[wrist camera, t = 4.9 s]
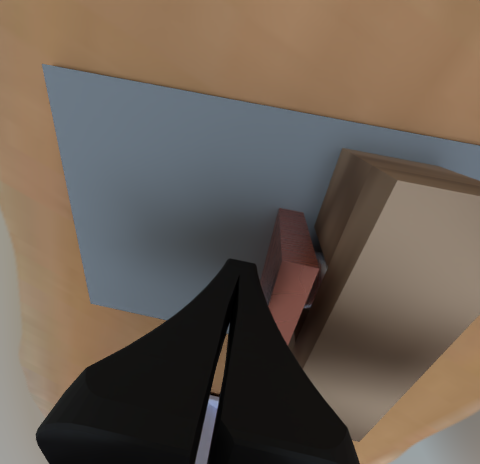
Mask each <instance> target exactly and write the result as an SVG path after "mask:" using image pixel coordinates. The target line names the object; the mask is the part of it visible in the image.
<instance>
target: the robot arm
mask: <svg viewBox="0 0 480 464" xmlns="http://www.w3.org/2000/svg"><path fill="white" fill-rule="evenodd" d="M229 323H230V325H229ZM228 326H229V334H228V344H227V353H226V363H225V370H224V376H223V382H222V387H221V392H220V397H217V396H212V395H210V392H211V388H212V383H213V378H214V374H215V370H216V366H217V362H218V359H219V356H220V353H221V349H222V346H223V343H224V340H225V336H226V333H227V330H228ZM36 440H37V443H38V446H39V448H40V449H41V451H42V453H43V454H44V456H45V458H46V459H47V461H48V462H49V464H360V463H359V460H358V457H357V454H356V451H355V448H354V445H353V442H352V439H351V436H350V433H349V430H348V428H347V426H346V425H345V424H344V423H343V421H342V420H341V419H340V418H339V417H338V415H337V414H336V413H335V412H334V410H333V409H332V408H331V407H330V405H329V404H328V403H327V402H326V401H325V399H324V398H323V397H322V395H321V394H320V393H319V391H318V390H317V389H316V387H315V386H314V385H313V383H312V382H311V380H310V379H309V378H308V376H307V375H306V373H305V372H304V370H303V369H302V367H301V366H300V364H299V363H298V361H297V359H296V358H295V356H294V355H293V353H292V352H291V350H290V348H289V347H288V345H287V343H286V341H285V340H284V338H283V336H282V334H281V332H280V330H279V329H278V327H277V325H276V323H275V320H274V318H273V316H272V314H271V311H270V309H269V307H268V304H267V302H266V299H265V296H264V293H263V290H262V287H261V284H260V280H259V276H258V271H257V266H256V264H255V263H250V262H245V261H240V260H236V259H231V258H229V259H228V260H227V261H226V263H225V264H224V266H223V267H222V268H221V270H220V271H219V272H218V274H217V275H216V276H215V277H214V278H213V279H212V281H211V282H210V283H209V284H208V285H207V286H206V287H205V288H204V289H203V290H202V291H201V292H200V293H199V294H198V295H197V296H196V297H195V298H194V299H193V300H192V301H191V302H190V303H188V304H187V305H186V306H185V307H184V308H182V309H181V310H180V311H179V312H178V313H176V314H175V315H174V316H172V317H171V318H170V319H168V320H167V321H166V322H164V323H163V324H161V325H160V326H158V327H157V328H156V329H154V330H153V331H151V332H149V333H148V334H146V335H144V336H143V337H141V338H140V339H138V340H136V341H135V342H133V343H132V344H130V345H128V346H126V347H125V348H123V349H121V350H119V351H117V352H115V353H114V354H112V355H110V356H108V357H106V358H104V359H102V360H100V361H98V362H97V363H95V364H93V365H91V366H89V367H87V368H86V369H85V370H84V371H83V372H82V373H81V374H80V375H79V377H78V378H77V379H76V380H75V381H74V382H73V383H72V384H71V386H70V387H69V388H68V389H67V390H66V391H65V393H64V394H63V395H62V397H61V398H60V399H59V401H58V402H57V403H56V405H55V406H54V407H53V409H52V410H51V412H50V413H49V414H48V416H47V417H46V418H45V420H44V421H43V423H42V424H41V425H40V427H39V428H38V430H37V433H36Z"/></svg>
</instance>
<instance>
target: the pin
mask: <svg viewBox="0 0 480 464" xmlns="http://www.w3.org/2000/svg"><path fill="white" fill-rule="evenodd" d="M327 268H328V267H327V264H326V261H325V258H324V255H323V253H321V252H316V251H314V248H313V244H312V241H311V237H310V234H309V230H308V227H307V223H306V220H305V216H304V213H302V212H297V211H292V210H287V209H282V208H279V211H278V214H277V218H276V222H275V226H274V230H273V233H272V237H271V241H270V245H269V249H268V253H267V256H266V260H265V264H264V268H263V272H262V275H261V279H260V284H261V287H262V290H263V293H264V296H265V299H266V302H267V304H268V307H269V309H270V311H271V314H272V316H273V318H274V320H275V323H276V325H277V327H278V329H279V330H280V332H281V334H282V336H283V338H284V340H285V341H286V343H287V345H288V344H289V342H290V339H291V337H292V334H293V332H294V329H295V327H296V325H297V322H298V320H299V317H300V315H301V312H302V310H303V308H304V309H309V310H310V308H311V305H312V303H313V301H314V298H315V296H316V294H317V291H318V289H319V287H320V285H321V282H322V280H323V278H324V275H325V273H326V271H327Z"/></svg>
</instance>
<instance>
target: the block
mask: <svg viewBox="0 0 480 464" xmlns="http://www.w3.org/2000/svg"><path fill="white" fill-rule="evenodd" d="M314 228H315V231H316V234H317V237H318V240H319V243H320V246H321V249H322V252H323V255H324V258H325V261H326V264H327V267H328V268H327V271H326V273H325V275H324V278H323V280H322V282H321V285H320V287H319V289H318V291H317V294H316V296H315V298H314V301H313V303H312V305H311V308H310V310H309V309H304V308H303V310H302V312H301V315H300V317H299V320H298V322H297V325H296V327H295V329H294V332H293V334H292V337H291V339H290V342H289V344H288V347H289V348H290V350H291V352H292V353H293V355H294V356H295V358H296V359H297V361H298V363H299V364H300V366H301V367H302V369H303V370H304V372H305V373H306V375H307V376H308V378H309V379H310V380H311V382H312V383H313V385H314V386H315V387H316V389H317V390H318V391H319V393H320V394H321V395H322V397H323V398H324V399H325V401H326V402H327V403H328V404H329V405H330V407H331V408H332V409H333V410H334V412H335V413H336V414H337V415H338V417H339V418H340V419H341V420H342V421H343V423H344V424H345V425H346V426H347V428H348V430H349V433H350V436H351V439H352V440H353V441H358V442H359V441H360V440H361V439H362V438H363V437H364V436H365V435H366V434H367V433H368V432H369V431H370V430H371V429H372V428H373V427H374V426H375V425H376V424H377V422H378V421H379V420H380V419H381V418H382V417H383V416H384V415H385V414H386V413H387V412H388V411H389V410H390V409H391V408H392V407H393V406H394V404H395V403H396V402H397V401H398V400H399V399H400V398H401V397H402V396H403V395H404V394H405V393H406V392H407V391H408V390H409V389H410V388H411V387H412V385H413V384H414V383H415V382H416V381H417V380H418V379H419V378H420V377H421V376H422V375H423V374H424V373H425V372H426V371H427V370H428V369H429V367H430V366H431V365H432V364H433V363H434V362H435V361H436V360H437V359H438V358H439V357H440V356H441V355H442V354H443V353H444V352H445V351H446V350H447V348H448V347H449V346H450V345H451V344H452V343H453V342H454V341H455V340H456V339H457V338H458V337H459V336H460V335H461V334H462V333H463V332H464V330H465V329H466V328H467V327H468V326H469V325H470V324H471V323H472V322H473V321H474V320H475V319H476V318H477V317H478V316H479V315H480V181H479V180H476V179H473V178H470V177H468V176H465V175H462V174H459V173H456V172H454V171H451V170H448V169H445V168H442V167H440V166H435V165H430V164H425V163H420V162H414V161H409V160H404V159H399V158H394V157H388V156H383V155H378V154H373V153H367V152H362V151H357V150H352V149H346V148H342V150H341V153H340V156H339V158H338V161H337V164H336V167H335V170H334V172H333V175H332V178H331V181H330V184H329V186H328V189H327V192H326V195H325V197H324V200H323V203H322V206H321V209H320V211H319V214H318V217H317V220H316V222H315V225H314Z"/></svg>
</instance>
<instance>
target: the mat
mask: <svg viewBox="0 0 480 464" xmlns="http://www.w3.org/2000/svg"><path fill="white" fill-rule="evenodd" d="M42 67H43V72H44V77H45V82H46V87H47V91H48V96H49V101H50V106H51V111H52V116H53V121H54V126H55V131H56V135H57V140H58V145H59V150H60V155H61V160H62V165H63V170H64V175H65V180H66V184H67V189H68V194H69V199H70V204H71V209H72V214H73V219H74V224H75V228H76V233H77V238H78V243H79V248H80V253H81V258H82V263H83V268H84V273H85V277H86V282H87V287H88V292H89V297H90V302H91V304H96V305H100V306H105V307H109V308H114V309H118V310H123V311H127V312H132V313H136V314H141V315H145V316H150V317H154V318H159V319H163V320H168V319H170V318H171V317H172V316H174V315H175V314H176V313H178V312H179V311H180V310H181V309H182V308H184V307H185V306H186V305H187V304H188V303H190V302H191V301H192V300H193V299H194V298H195V297H196V296H197V295H198V294H199V293H200V292H201V291H202V290H203V289H204V288H205V287H206V286H207V285H208V284H209V283H210V282H211V281H212V279H213V278H214V277H215V276H216V275H217V274H218V272H219V271H220V270H221V268H222V267H223V266H224V264H225V263H226V261H227V260H228V259H229V258H231V259H236V260H240V261H245V262H250V263H255V264H256V266H257V271H258V276H259V280H260V279H261V275H262V272H263V268H264V264H265V260H266V256H267V253H268V249H269V245H270V241H271V237H272V233H273V230H274V226H275V222H276V218H277V214H278V211H279V208H282V209H287V210H292V211H297V212H302V213H304V216H305V220H306V223H307V227H308V230H309V234H310V237H311V241H312V244H313V248H314V251H316V252H321V253H323V252H322V249H321V246H320V243H319V240H318V237H317V234H316V231H315V228H314V225H315V222H316V220H317V217H318V214H319V211H320V209H321V206H322V203H323V200H324V197H325V195H326V192H327V189H328V186H329V184H330V181H331V178H332V175H333V172H334V170H335V167H336V164H337V161H338V158H339V156H340V153H341V150H342V148H346V149H352V150H357V151H362V152H367V153H373V154H378V155H383V156H388V157H394V158H399V159H404V160H409V161H414V162H420V163H425V164H430V165H435V166H440V167H442V168H445V169H448V170H451V171H454V172H456V173H459V174H462V175H465V176H468V177H470V178H473V179H476V180H479V181H480V146H478V145H473V144H468V143H462V142H457V141H452V140H446V139H441V138H436V137H430V136H425V135H420V134H414V133H409V132H404V131H398V130H393V129H388V128H382V127H377V126H372V125H366V124H361V123H355V122H350V121H345V120H339V119H334V118H329V117H323V116H318V115H313V114H307V113H302V112H297V111H291V110H286V109H281V108H275V107H270V106H265V105H259V104H254V103H248V102H243V101H238V100H232V99H227V98H222V97H216V96H211V95H206V94H200V93H195V92H190V91H184V90H179V89H174V88H168V87H163V86H158V85H152V84H147V83H142V82H136V81H131V80H125V79H120V78H115V77H109V76H104V75H99V74H93V73H88V72H83V71H77V70H72V69H67V68H61V67H56V66H51V65H45V64H42ZM229 325H230V323H229ZM227 334H229V326H228V330H227Z"/></svg>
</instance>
